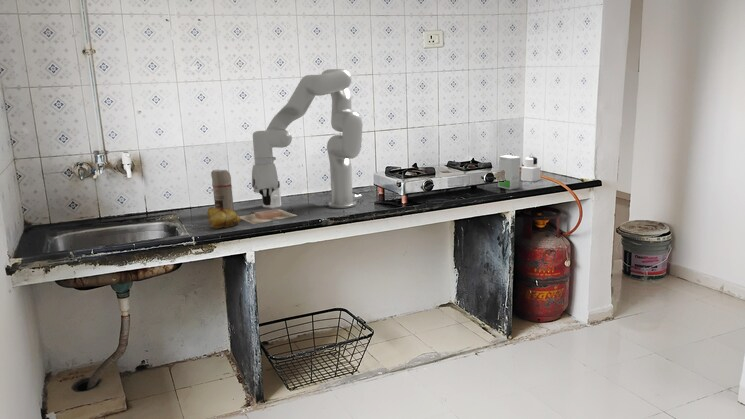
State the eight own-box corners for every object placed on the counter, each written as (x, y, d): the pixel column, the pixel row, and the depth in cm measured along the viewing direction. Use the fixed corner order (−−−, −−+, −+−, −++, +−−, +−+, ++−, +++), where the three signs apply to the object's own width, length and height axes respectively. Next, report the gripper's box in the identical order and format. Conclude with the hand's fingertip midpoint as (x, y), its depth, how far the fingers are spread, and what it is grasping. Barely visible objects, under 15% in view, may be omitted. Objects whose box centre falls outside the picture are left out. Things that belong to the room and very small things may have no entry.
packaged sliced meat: (279, 211, 270) (279, 209, 270) (297, 218, 258) (297, 215, 257) (237, 219, 259) (236, 216, 259) (253, 226, 246) (253, 224, 246)
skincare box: (498, 187, 305) (498, 156, 302) (507, 185, 309) (507, 154, 305) (511, 189, 299) (511, 157, 295) (520, 187, 302) (520, 156, 299)
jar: (266, 211, 272) (264, 184, 270) (259, 208, 279) (257, 182, 276) (285, 208, 277) (283, 181, 274) (277, 205, 284) (275, 179, 281)
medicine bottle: (529, 178, 325) (529, 155, 322) (540, 180, 320) (541, 157, 317) (520, 180, 321) (521, 157, 318) (532, 182, 315) (532, 158, 313)
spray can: (211, 214, 270) (207, 169, 265) (228, 211, 275) (224, 166, 270) (220, 217, 264) (216, 171, 259) (237, 214, 269) (233, 168, 264)
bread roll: (239, 221, 256) (237, 203, 254) (243, 227, 247) (241, 207, 245) (207, 225, 252) (205, 206, 250) (210, 231, 243) (208, 211, 241)
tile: (273, 209, 263) (254, 212, 258) (281, 211, 258) (261, 215, 253) (274, 212, 264) (254, 216, 259) (281, 215, 258) (262, 219, 253)
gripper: (275, 158, 260) (278, 200, 264) (243, 162, 252) (246, 206, 256) (284, 160, 254) (287, 203, 258) (251, 164, 246) (254, 209, 250)
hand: (267, 204), depth 257 cm, fingers closed
